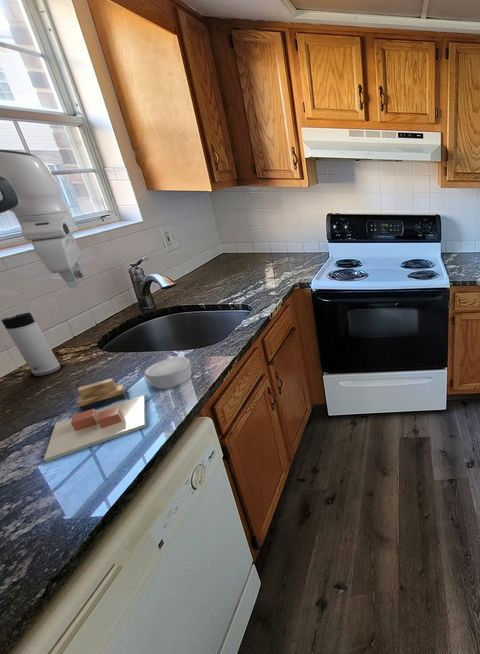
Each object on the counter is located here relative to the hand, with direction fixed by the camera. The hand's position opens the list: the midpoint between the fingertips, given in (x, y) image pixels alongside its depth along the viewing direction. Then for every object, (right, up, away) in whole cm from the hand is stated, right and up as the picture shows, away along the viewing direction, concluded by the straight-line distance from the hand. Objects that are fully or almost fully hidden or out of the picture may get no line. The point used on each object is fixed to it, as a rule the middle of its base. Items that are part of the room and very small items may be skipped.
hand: (76, 282), depth 91 cm
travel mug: (-37, -26, +27) cm, 53 cm away
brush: (-3, -32, +11) cm, 34 cm away
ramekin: (+9, -28, +20) cm, 35 cm away
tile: (+5, -36, +1) cm, 37 cm away
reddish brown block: (+2, -36, +1) cm, 36 cm away
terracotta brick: (+8, -35, +1) cm, 36 cm away
